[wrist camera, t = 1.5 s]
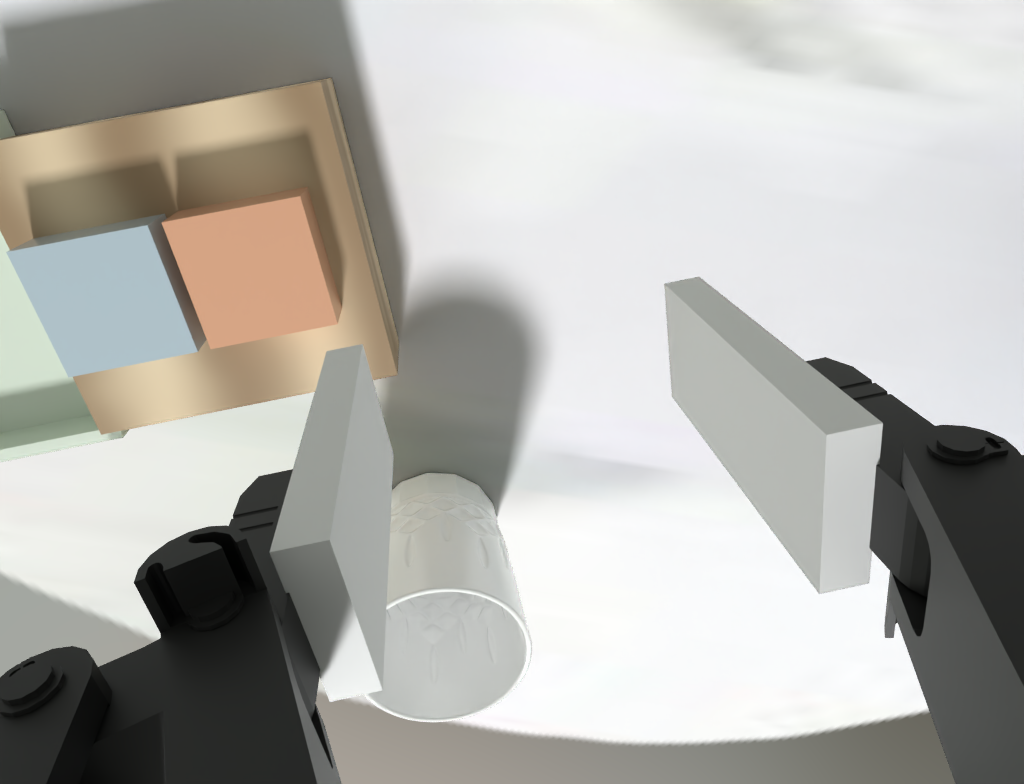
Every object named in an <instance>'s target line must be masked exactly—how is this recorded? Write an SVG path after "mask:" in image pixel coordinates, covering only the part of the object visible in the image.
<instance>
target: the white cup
mask: <svg viewBox="0 0 1024 784" xmlns="http://www.w3.org/2000/svg"><path fill="white" fill-rule="evenodd" d="M531 655H532V642H531V637H530V633H529V629H528V625H527V622H526V618H525V614H524V610H523V606H522V602H521V598H520V594H519V590H518V586H517V582H516V578H515V575H514V571H513V568H512V564H511V561H510V558H509V555H508V551H507V548H506V544H505V541H504V538H503V536H502V534H501V532H500V529H499V526H498V522H497V518H496V514H495V509H494V506H493V503H492V502H491V501H490V500H489V498H488V497H487V496H486V494H485V493H484V492H483V490H482V489H481V488H480V487H479V485H477V484H475V483H473V482H471V481H469V480H466V479H464V478H462V477H460V476H458V475H456V474H445V473H425V474H422V475H419V476H416V477H413V478H411V479H408V480H405V481H402V482H400V483H399V484H398V485H397V486H396V487H395V488H394V489H393V490H392V501H391V522H390V544H389V565H388V587H387V608H386V630H385V651H384V673H383V690H382V691H377V692H373V693H368V694H364V696H365V697H366V698H367V699H368V700H369V701H370V702H371V703H373V704H374V705H375V706H377V707H378V708H380V709H382V710H384V711H386V712H388V713H390V714H392V715H395V716H398V717H401V718H404V719H409V720H414V721H422V722H445V721H453V720H458V719H463V718H466V717H470V716H473V715H476V714H478V713H481V712H483V711H485V710H487V709H489V708H491V707H493V706H494V705H496V704H498V703H499V702H501V701H502V700H503V699H505V698H506V697H507V696H508V695H509V694H510V693H511V692H512V691H513V690H514V689H515V688H516V687H517V686H518V685H519V683H520V682H521V681H522V679H523V677H524V676H525V674H526V672H527V670H528V667H529V664H530V661H531Z"/></svg>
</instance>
